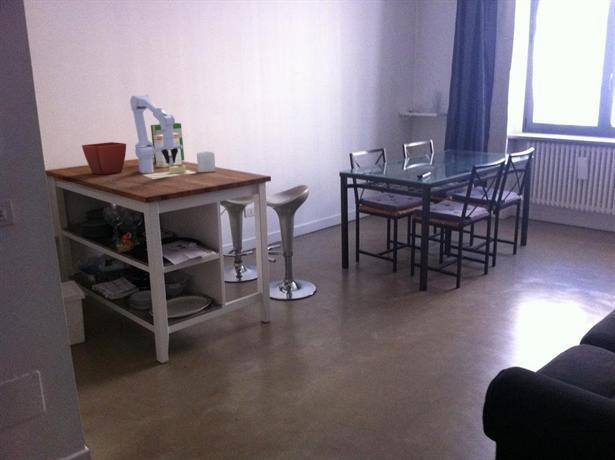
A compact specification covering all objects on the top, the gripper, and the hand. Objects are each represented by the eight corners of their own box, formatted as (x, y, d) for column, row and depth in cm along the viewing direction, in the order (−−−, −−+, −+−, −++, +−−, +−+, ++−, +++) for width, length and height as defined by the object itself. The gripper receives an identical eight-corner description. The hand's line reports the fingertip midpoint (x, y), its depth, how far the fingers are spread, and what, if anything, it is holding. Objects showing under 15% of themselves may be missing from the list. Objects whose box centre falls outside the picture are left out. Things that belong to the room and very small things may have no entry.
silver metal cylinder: (167, 166, 331) (166, 155, 329) (172, 165, 332) (171, 155, 331) (169, 167, 329) (168, 156, 327) (174, 166, 330) (173, 155, 329)
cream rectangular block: (169, 172, 341) (169, 166, 340) (183, 171, 345) (182, 164, 344) (173, 173, 337) (172, 167, 336) (186, 172, 341) (185, 165, 340)
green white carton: (158, 163, 385) (155, 125, 379) (154, 162, 391) (150, 125, 385) (184, 160, 395) (181, 123, 389) (179, 159, 401) (176, 122, 395)
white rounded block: (213, 170, 348) (211, 149, 345) (216, 171, 345) (215, 149, 342) (197, 172, 343) (195, 151, 339) (200, 173, 339) (198, 151, 336)
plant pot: (114, 169, 369) (111, 141, 364) (130, 172, 355) (126, 143, 351) (84, 173, 356) (80, 145, 351) (99, 176, 342) (95, 147, 338)
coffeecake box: (174, 163, 383) (171, 132, 378) (182, 164, 379) (179, 132, 374) (156, 166, 371) (152, 135, 366) (163, 167, 367) (160, 135, 362)
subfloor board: (141, 176, 338) (141, 174, 338) (185, 170, 352) (185, 169, 351) (153, 180, 323) (152, 178, 323) (197, 174, 337) (197, 172, 337)
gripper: (158, 140, 319) (160, 165, 323) (183, 137, 327) (186, 162, 331) (153, 139, 325) (156, 163, 329) (178, 136, 333) (181, 161, 336)
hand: (170, 163), depth 330 cm, fingers closed on silver metal cylinder, 3 cm apart
